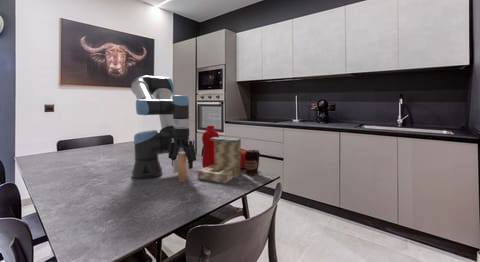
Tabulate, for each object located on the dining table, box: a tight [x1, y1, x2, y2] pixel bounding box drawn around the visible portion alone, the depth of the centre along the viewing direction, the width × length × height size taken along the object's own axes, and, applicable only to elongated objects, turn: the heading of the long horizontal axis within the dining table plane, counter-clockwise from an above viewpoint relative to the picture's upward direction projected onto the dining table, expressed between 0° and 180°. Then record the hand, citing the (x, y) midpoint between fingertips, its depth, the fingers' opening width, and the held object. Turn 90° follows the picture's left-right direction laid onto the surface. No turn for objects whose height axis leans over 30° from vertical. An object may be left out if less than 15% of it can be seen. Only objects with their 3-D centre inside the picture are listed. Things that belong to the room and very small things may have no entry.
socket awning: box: [197, 136, 242, 184], centre depth 123 cm, size 16×17×19 cm
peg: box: [177, 151, 188, 183], centre depth 115 cm, size 4×4×14 cm
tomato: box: [241, 149, 247, 169], centre depth 140 cm, size 14×13×10 cm
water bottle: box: [201, 124, 220, 168], centre depth 142 cm, size 9×11×25 cm
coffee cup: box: [245, 149, 261, 176], centre depth 126 cm, size 9×8×13 cm
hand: (182, 173), depth 115 cm, fingers open, 8 cm apart
